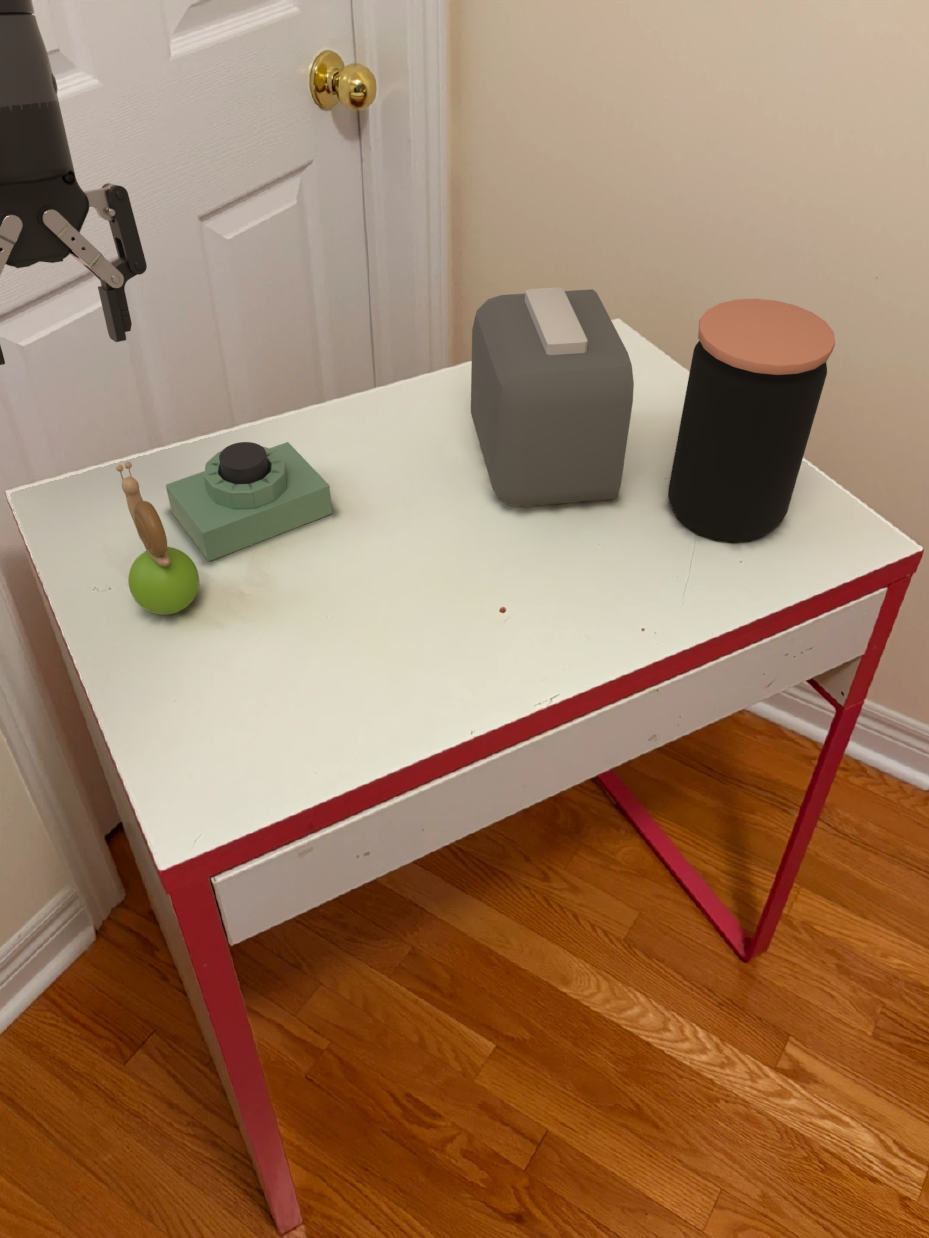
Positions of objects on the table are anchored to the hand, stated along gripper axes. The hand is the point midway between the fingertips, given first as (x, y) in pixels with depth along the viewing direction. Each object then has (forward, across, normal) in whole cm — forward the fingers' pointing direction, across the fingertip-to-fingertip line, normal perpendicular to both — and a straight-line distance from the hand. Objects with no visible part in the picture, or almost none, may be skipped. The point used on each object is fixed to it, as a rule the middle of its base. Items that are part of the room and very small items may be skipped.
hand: (59, 351), depth 75 cm
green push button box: (+18, -14, -5) cm, 24 cm away
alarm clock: (+18, -40, +2) cm, 44 cm away
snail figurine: (+21, -3, +1) cm, 21 cm away
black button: (+14, -14, -4) cm, 20 cm away
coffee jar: (+21, -50, +17) cm, 57 cm away
